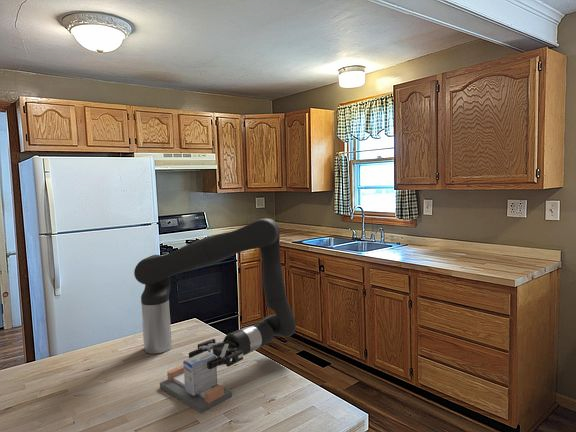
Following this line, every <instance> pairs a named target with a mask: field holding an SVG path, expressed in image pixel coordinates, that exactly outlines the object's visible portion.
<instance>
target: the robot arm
mask: <svg viewBox="0 0 576 432" xmlns="http://www.w3.org/2000/svg"><path fill="white" fill-rule="evenodd" d="M280 237H281V236H280V227H279V224H278V223H277V221H275V220H274V219H272V218H268V217H267V218H260V219H256V220H254V221H253V222H251V223H248V224H247V225H244V226H243V227H240V228H238V229H235V230H233V231H227V232H223V233H219V234H214V235H211V236H208V237H203V238H201V239H198V240H195V241H193V242H191V243H188V244H186V245H184V246H182V247H180V248H179V249H176V250H173V251H172V252H169V253H167V254H161V255H160V254H153V255H150V256H148V257H145V258H143V259H141V260H140V261H139V262H138V263H137V264H136V266H135V267H134V271H133V272H134V273H133V275H134V279H136V281H137V282H138V283H140V284H142V285H145V286H144V289H143V291H142V294H141V296H140V303H141V314H142V316H141V317H142V336H143V348H144V352H145V353H147V354H151V355H153V354H154V355H155V354H161V353H165V352H167V351H169V350H171V349H172V347H173V342H172V328H171V324H172V323H171V315H170V314H171V313H170V298H169V297H170V292H171V277H172V276H175V275H178V274H182V273H185V272H190V271H194V270H197V269H201V268H205V267H209V266H211V265H214V264H217V263H220V262H222V261H224V260H227V259H228V258H230V257H233V256H235V255H236V254H238V253H242V252H246V251H249V250H254V249H259V250H260V253H261V259H262V284H263V285H262V286H263V292H264V298H265V304H266V307H267V308H268V309H270V310H272V311H274V314H271V315H268V316H265V318H263V319H262V320H260V321H259V322H257V323H255V324H252V325H249V326H246V327H242V328H240V329H238V330H235V331H233V332H230V333H228V334H226V335H225V337H224V339H223V340H222V341H216V338H211V339H209V340H206V341H203V342H201V343H198V344H197V349H195V350H192V351H189V353H188V359H189V358H191V357H193V356H196V355H198V354H201V353H203V352H205V351H208V352H210V353H212V354H214V355H216V358H214V359H211V360H209V361H208V362H207V368H208V369H209V370H210V369H213V368H215V367H219V366H223V367H224V366H225V365H226V367H228V368H229V367H231V366H233V365H235V364H237V363H239V362H240V361H243V360H244V356H246V355H248V354H250V353H252V352H254V351H256V350H257V349H259V348H261V347H263V346H265V345H268V344H269V343H270V342H271V341H273V339H274V337H282V338H290V337H291V336H292V335H294V333H295V332H296V328H297V327H296V325H297V323H296V319H295V315H294V314H293V310H292V308H291V306H290V304H289V302H288V299H287V292H286V286H285V281H284V274H283V270H282V263H281V252H280V251H281V250H280V242H281V241H280Z"/></svg>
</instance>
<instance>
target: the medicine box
mask: <svg viewBox="0 0 576 432" xmlns="http://www.w3.org/2000/svg"><path fill="white" fill-rule="evenodd" d="M212 353H213V352H211V353H210V352H208V351H205V352H203V353H201V354H198V355H196V356H193V357H191V358H189V357H188V358H186V359H184V360H183V363H182V364H183V365H182V366H184V381H185V390H186V391H187V392H188V393H190V394H192V395H193V396H195V395H197V394H199V393H200V392H202V391H204V390H206V389H208V388H210V387H212V386H214V385H216V384H218V373H217V372H218V369H217V367H218V366H217V367H215V368H213V369H210V370H209V369H208V368H207V362H208V361H209V360H211V359H214V358H216V357H217V356H216V355H214V354H212Z"/></svg>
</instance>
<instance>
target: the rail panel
mask: <svg viewBox="0 0 576 432" xmlns="http://www.w3.org/2000/svg"><path fill="white" fill-rule="evenodd" d="M166 373H167V379H165V380H162V381H161V382H159V388H160V389H161V390H163V391H164V392H166V393H167V394H170V395H171V396H172V397H174V398H175V399H178V400H179V401H180V402H182V403H183V404H186V405H187V406H189V407H190V408H192V409H193V410H195V411H197V412H199V414H203V413H205V412H207V411H209V410H211V409H212V408H215V407H216V406H218V405H219V404H221V403H223V402H225V401H227V400H229V399H230V398H232V396H233V393H232V392H233V391H231V390H230V389H228V388H226V387H224V386H223V385H222V384H218V383H217V384H216V385H214V386H212V387H210V388H208V389H206V390H204V391H202V392H200V393H199V394H197V395H195V396H193V395H192V394H190V393H188V392H187V391H186V390H185V381H184V365H179V366H178V367H175V368H173V369H171V370H168V371H167V372H166Z"/></svg>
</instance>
